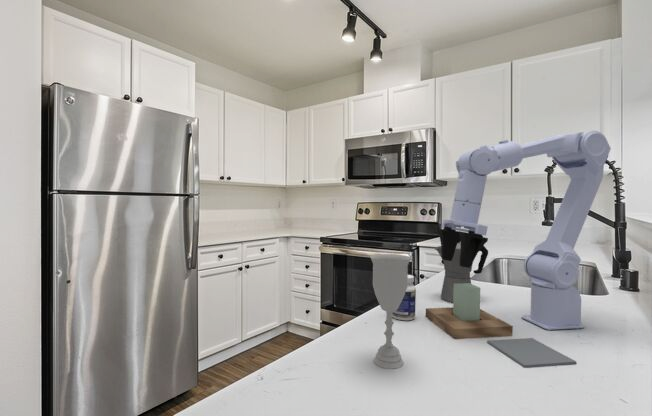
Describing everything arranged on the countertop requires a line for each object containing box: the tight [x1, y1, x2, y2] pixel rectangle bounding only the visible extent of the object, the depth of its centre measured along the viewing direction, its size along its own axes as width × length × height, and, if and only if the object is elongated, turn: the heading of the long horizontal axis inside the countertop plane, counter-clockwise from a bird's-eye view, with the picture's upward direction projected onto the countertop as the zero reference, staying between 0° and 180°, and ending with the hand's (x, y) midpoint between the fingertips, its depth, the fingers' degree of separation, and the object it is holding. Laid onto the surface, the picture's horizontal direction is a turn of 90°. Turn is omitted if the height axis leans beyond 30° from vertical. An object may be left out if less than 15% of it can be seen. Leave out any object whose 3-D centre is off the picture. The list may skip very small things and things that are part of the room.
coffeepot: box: [434, 240, 489, 304], centre depth 95 cm, size 15×9×18 cm, turn 94°
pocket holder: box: [425, 306, 513, 340], centre depth 75 cm, size 13×13×2 cm
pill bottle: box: [392, 274, 417, 321], centre depth 80 cm, size 6×6×10 cm
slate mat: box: [486, 337, 577, 368], centre depth 62 cm, size 10×10×1 cm
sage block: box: [452, 283, 481, 321], centre depth 75 cm, size 4×4×9 cm
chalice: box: [369, 253, 412, 370], centre depth 58 cm, size 7×7×18 cm
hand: (455, 263), depth 74 cm, fingers open, 7 cm apart
